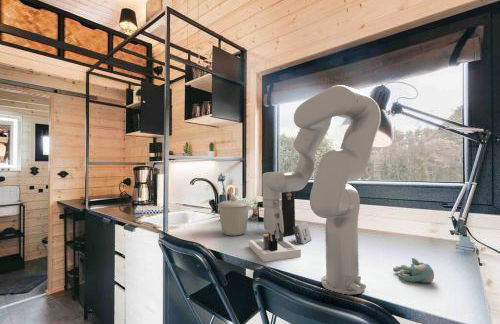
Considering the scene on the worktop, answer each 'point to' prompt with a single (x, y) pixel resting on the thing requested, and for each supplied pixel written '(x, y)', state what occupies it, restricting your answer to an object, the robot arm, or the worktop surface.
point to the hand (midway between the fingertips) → (273, 250)
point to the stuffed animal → (416, 272)
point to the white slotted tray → (283, 252)
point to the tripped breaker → (265, 241)
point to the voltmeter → (288, 212)
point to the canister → (233, 216)
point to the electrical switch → (302, 233)
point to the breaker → (280, 237)
